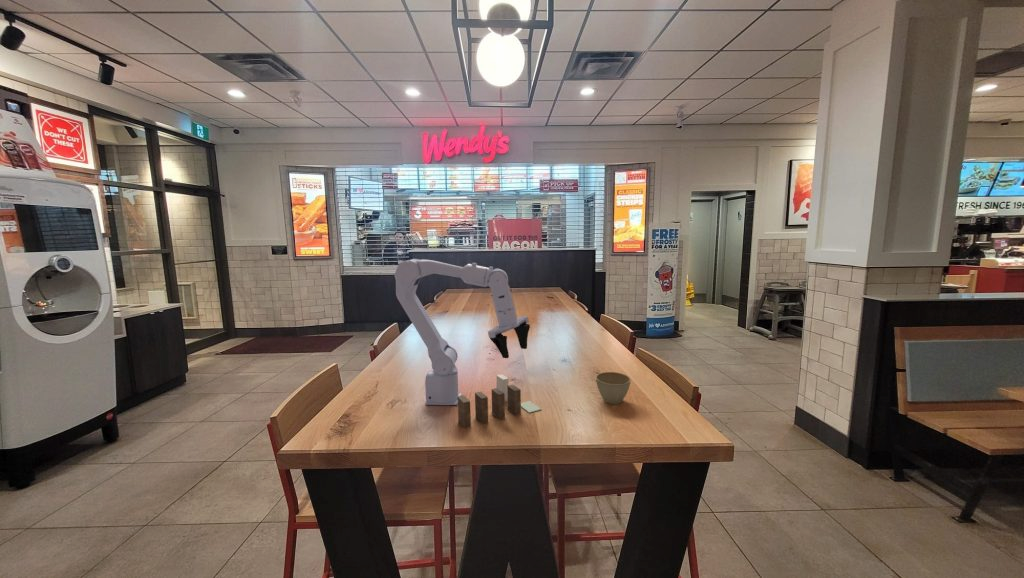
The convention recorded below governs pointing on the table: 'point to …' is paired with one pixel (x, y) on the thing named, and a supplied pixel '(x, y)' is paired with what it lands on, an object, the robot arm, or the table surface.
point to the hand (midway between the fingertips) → (515, 352)
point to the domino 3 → (502, 385)
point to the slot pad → (530, 407)
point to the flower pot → (613, 386)
